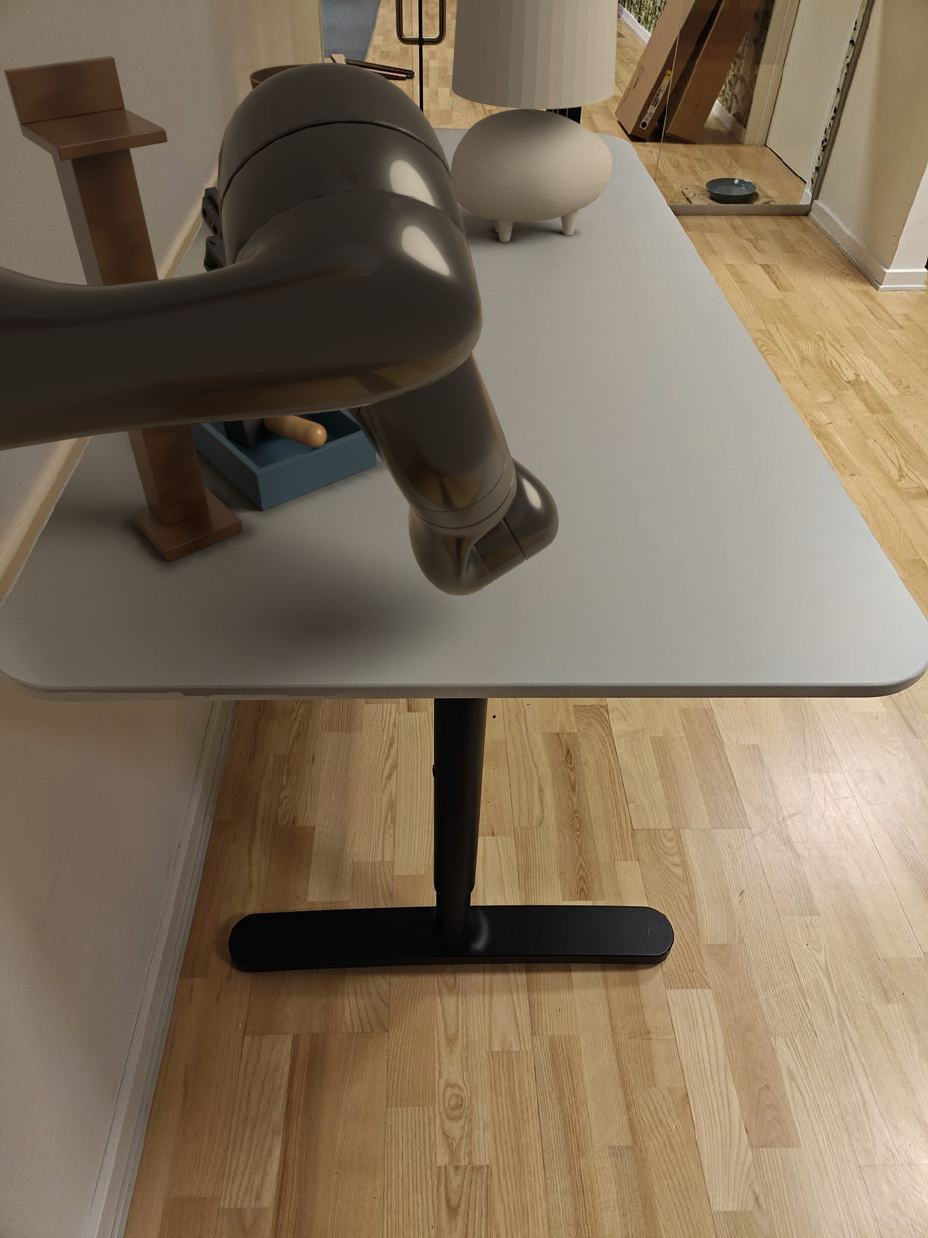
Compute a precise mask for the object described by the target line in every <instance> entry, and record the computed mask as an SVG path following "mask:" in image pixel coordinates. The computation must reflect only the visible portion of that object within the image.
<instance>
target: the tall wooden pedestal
mask: <svg viewBox="0 0 928 1238" xmlns="http://www.w3.org/2000/svg"><path fill="white" fill-rule="evenodd" d="M3 73H4V76H5V80H6V83H7V87H8V90H9V94H10V97H11V101H12V104H13V107H14V110H15V111H14V112H15V114H16V117H17V121H18V123H19V128H20V131H21V134H22V136H23V137H24V138H26V139H27V140H29V141H30V142H31V143H33V144H35V145H36V146H38V147H40V148H41V149H42V150H44V151H45V152H47V153H49V154H50V155H51V157H52V161H53V165H54V169H55V172H56V176H57V179H58V184H59V186H60V190H61V193H62V198H63V201H64V205H65V208H66V213H67V216H68V220H69V223H70V226H71V230H72V234H73V237H74V238H73V239H74V242H75V246H76V249H77V253H78V256H79V260H80V263H81V267H82V270H83V275H84V278H85V282H86V285H115V284H124V283H133V282H143V281H152V280H160V279H159V275H158V271H157V266H156V261H155V257H154V253H153V252H154V251H153V247H152V244H151V239H150V234H149V230H148V229H149V228H148V226H147V221H146V216H145V212H144V206H143V202H142V197H141V194H140V188H139V185H138V180H137V175H136V171H135V167H134V161H133V155H132V152H131V149H136V148H137V149H138V148H142V147H147V146H153V145H159V144H164V143H168V135H167V131H166V129H165V128H164V127H162V126H160V125H158V124H157V123H154V122H152V121H150V120H149V119H146V118H144V117H143V116H140V115H138V114H137V113H135V112H133V111H131V110H128V109H127V108H126V106H125V101H124V96H123V92H122V87H121V83H120V78H119V74H118V68H117V64H116V59H115V57H113V56H111V55H109V56H108V55H107V56H101V57H93V58H85V59H84V58H83V59H78V60H71V61H70V60H69V61H62V62H55V63H54V62H53V63H47V64H46V63H45V64H37V65H32V66H31V65H30V66H24V67H16V68H9V69H8V68H7V69H4V70H3ZM126 432H127V435H128V439H129V443H130V446H131V450H132V454H133V458H134V461H135V466H136V469H137V472H138V475H139V479H140V483H141V487H142V490H143V494H144V498H145V503H146V505H147V506H145V507H143V508H139V509H137V510H135V511H131V515H132V519H133V522H134V524H135V525H136V527H137V528H138V529H139V530H140V531H141V532H142V533H143V535H144V536H145V537H146V539H148V541H149V542H150V543H151V544H152V545H153V546H154V547H155V548H156V549H157V551H158V552H159V553H160V554H161V556H163V558H165V560H166V561H167V562H168V563H170V562H172V561H174V560H177V559H180V558H182V557H184V556H187V555H190V554H191V553H192V554H193V553H194V552H197V551H199V550H202V549H203V548H204V549H205V548H206V547H210V546H211V545H214V544H216V543H219V542H221V541H224V540H226V539H229V538H230V537H234V536H236V535H238V534H241V533H243V532H244V530H243V529H244V528H243V525H242V520H241V519H240V518H239V517H238V516H236V515H235V513H233V511H232V510H231V509H230V508H228V507H227V505H225V504H224V503H223V502H222V501H221V500H220V499H219V497H217V496H216V495H215V494H214V493H213V492H212V491H211V490H210V489H209V488H208V487H207V486H206V485H205V484H204V480H203V476H202V471H201V466H200V462H199V458H198V453H197V449H196V448H195V444H194V439H193V434H192V430H191V425H180V426H170V427H160V428H151V429H141V430H132V431H126Z"/></svg>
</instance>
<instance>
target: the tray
mask: <svg viewBox="0 0 928 1238" xmlns="http://www.w3.org/2000/svg"><path fill="white" fill-rule="evenodd" d="M300 417H301V418H302V419H305V420H308V421H312V422H315V423H318V424H320V425H321V426H323V427H324V429H325V430H326V434H327V438H326V441H325V443H324V444H323V445H322V446H320V447H317V448H312V447H309V446H306V445H304V444H301V443H298V442H295V441H293V440H290V439H287V438H285V437H282V436H279V435H277V436H274V437H271V438H269V439H266V440H263V441H261V442H258V443H256V444H253V445H250V446H249V445H247V444H244V443H242V442H239V441H237V440H234V439H232V438H229V437H227V435H226V432H225V428H224V425H223V422H212V423H201V424H191V430H192V434H193V439H194V444H195V448H196V450H197V451H199V452H200V453H201V455H203V456H204V458H206V459H207V460H208V461H209V462H210V463H211V464H212V465H213V466H214V467H215V468H217V470H218V471H220V472H221V473H222V474H223V475H224V476H225V477H226V478H227V479H228V480H229V481H230V482H231V483H232V484H234V486H236V487H237V488H238V489H239V490H240V491H241V492H242V493H243V494H244V495H245V496H247V498H248V499H249V500H251V502H253V503H254V504H255V505H256V506H257V507H258V508H259V509H260V510H261V511H262V512H263V511H266V510H268V509H271V508H273V507H276V506H279V505H281V504H283V503H286V502H288V501H291V500H294V499H296V498H298V497H301V496H304V495H306V494H308V493H311V492H313V491H317V490H319V489H322V488H324V487H326V486H328V485H331V484H335V483H336V482H338V481H339V482H340V481H341V480H343V479H347V478H349V477H351V476H353V475H356V474H358V473H359V474H360V473H361V472H363V471H366V470H369V469H371V468H373V467H376V466H378V464H377V463H378V462H377V453H376V451H375V450H374V448H373V447H372V445H371V444H370V442H369V441H368V439H367V437H366V436H365V434H364V433H363V431H362V430H361V428H360V427H359V425H358V423H357V422H356V421H355V419H354V418H353V417H352V415H351V414H350V413H349V412H348V411H347V410H346V409H342V410H335V411H328V412H319V413H310V414H300Z"/></svg>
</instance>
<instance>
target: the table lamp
mask: <svg viewBox="0 0 928 1238" xmlns="http://www.w3.org/2000/svg"><path fill="white" fill-rule="evenodd" d="M618 7H619V0H456V9H455V27H454V28H455V29H454V41H453V58H452V74H451V75H452V76H451V91H452V92H453V94H454V95H456V96H458V97H459V98H461V99H463V100H466V101H469V102H472V103H477V104H481V105H485V106H486V105H487V106H491V107H500V108H509V109H508V110H503V111H499V112H496V113H493V114H490V115H488V116H485V117H484V118H483V117H482V119H480V120H478V121H477V122H475V123H474V124H472V126H471V127H470V128H468V130H467V131H466V132H465V134H464V135H462V138H461V139H460V141H459V143H458V144H457V146H456V148H455V150H454V152H453V156H452V160H451V166H450V172H451V175H452V179H453V184H454V189H455V193H456V197H457V201H458V205H459V206H461V207H462V208H463V209H465V210H466V211H467V212H469V213H471V214H472V215H475V216H476V217H480V218H484V219H487V220H493V221H494V227H495V232H496V233H498V238H499V242H503V243H506V242H510V241H511V236H512V231H513V227H514V226H513V225H514V222H524V223H525V222H526V223H527V222H543V221H550V220H554V219H557V218H560V220H561V228H562V234H563V235H566V236H570V235H571V236H572V235H574V230H575V227H576V222H577V219H578V214H579V210H582V209H584V208H586V207H587V206H589V205H591V204H592V203H593V202H595V201H596V200H597V199H598V198H599V197H600V196H601V195H602V194H603V193H604V191H605V190H606V189H607V187H608V184H609V181H610V179H611V176H612V171H613V155H612V152H611V150H610V148H609V147H608V144H607V143H606V142H605V141H604V140H603V139H602V138H601V137H600V136H599V135H597V133H595V132H593V131H592V130H591V129H589V128H587V127H586V126H584V125H582V124H581V123H578V122H576V121H574V120H572V119H571V118H568V117H566V116H564V115H561V114H560V113H559V114H558V113H556V112H553V111H549V110H559V109H560V110H561V109H571V108H579V107H585V106H590V105H595V104H598V103H599V104H600V103H601V102H605V101H607V100H609V99H611V98H612V97H613V96H614V94H615V87H616V86H615V85H616V62H617V61H616V60H617V37H618V36H617V34H618V33H617V32H618V12H619V11H618V9H619V8H618Z"/></svg>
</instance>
